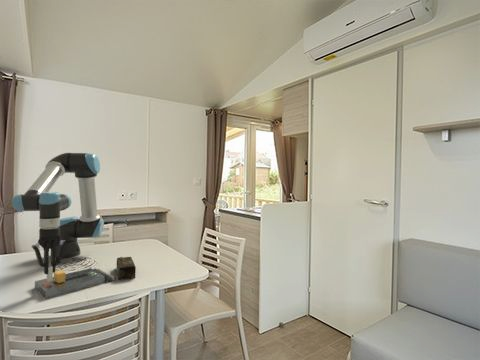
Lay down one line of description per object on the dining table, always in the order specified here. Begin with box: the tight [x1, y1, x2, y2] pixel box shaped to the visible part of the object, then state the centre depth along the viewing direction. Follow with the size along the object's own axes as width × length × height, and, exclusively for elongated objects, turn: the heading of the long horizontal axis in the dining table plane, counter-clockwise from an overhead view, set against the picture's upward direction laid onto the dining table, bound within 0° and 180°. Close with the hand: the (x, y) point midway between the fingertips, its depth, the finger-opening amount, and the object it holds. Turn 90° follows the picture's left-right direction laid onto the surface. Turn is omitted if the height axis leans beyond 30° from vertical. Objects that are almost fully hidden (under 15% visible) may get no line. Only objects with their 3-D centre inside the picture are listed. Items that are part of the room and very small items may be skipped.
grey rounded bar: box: [92, 268, 116, 282], centre depth 141 cm, size 17×4×2 cm, turn 50°
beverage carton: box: [116, 256, 137, 281], centre depth 148 cm, size 8×19×7 cm, turn 27°
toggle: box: [53, 269, 66, 283], centre depth 127 cm, size 5×3×4 cm, turn 50°
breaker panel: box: [34, 268, 106, 300], centre depth 130 cm, size 16×24×3 cm, turn 140°
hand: (49, 280), depth 124 cm, fingers closed
